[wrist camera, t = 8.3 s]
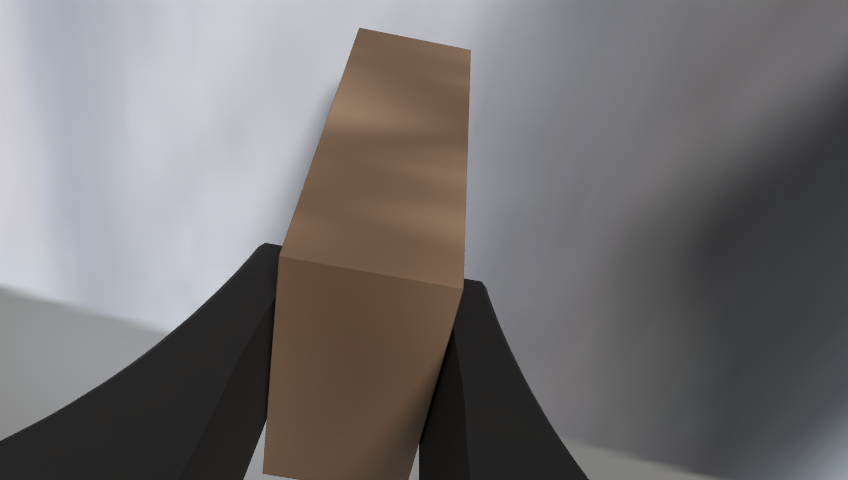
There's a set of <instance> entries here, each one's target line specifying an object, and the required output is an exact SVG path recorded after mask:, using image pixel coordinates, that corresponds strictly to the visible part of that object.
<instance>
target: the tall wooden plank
mask: <svg viewBox="0 0 848 480" xmlns="http://www.w3.org/2000/svg"><path fill="white" fill-rule="evenodd" d="M470 58H471V50H468V49H463V48H458V47H453V46H448V45H443V44H438V43H433V42H428V41H423V40H418V39H413V38H408V37H403V36H398V35H393V34H388V33H383V32H378V31H373V30H368V29H363V28H359V30H358V33H357V36H356V39H355V42H354V44H353V47H352V50H351V53H350V56H349V59H348V61H347V64H346V67H345V70H344V73H343V76H342V79H341V81H340V84H339V87H338V90H337V93H336V96H335V98H334V101H333V104H332V107H331V110H330V113H329V116H328V118H327V121H326V124H325V127H324V130H323V133H322V136H321V138H320V141H319V144H318V147H317V150H316V153H315V155H314V158H313V161H312V164H311V167H310V170H309V173H308V175H307V178H306V181H305V184H304V187H303V190H302V192H301V195H300V198H299V201H298V204H297V207H296V210H295V212H294V215H293V218H292V221H291V224H290V227H289V229H288V232H287V235H286V238H285V241H284V244H283V247H282V249H281V252H280V255H279V265H278V278H277V291H276V304H275V318H274V331H273V344H272V357H271V370H270V384H269V397H268V410H267V424H266V436H265V449H264V463H263V474H268V475H274V476H281V477H287V478H293V479H299V480H408V479H409V476H410V472H411V469H412V465H413V462H414V458H415V455H416V451H417V448H418V444H419V441H420V438H421V434H422V431H423V427H424V424H425V420H426V417H427V413H428V410H429V406H430V403H431V399H432V396H433V393H434V389H435V386H436V382H437V379H438V375H439V372H440V368H441V365H442V361H443V358H444V354H445V351H446V347H447V344H448V341H449V337H450V334H451V330H452V327H453V323H454V320H455V316H456V313H457V309H458V306H459V302H460V299H461V295H462V292H463V284H464V252H465V219H466V187H467V155H468V122H469V90H470Z"/></svg>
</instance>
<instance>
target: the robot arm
mask: <svg viewBox="0 0 848 480" xmlns="http://www.w3.org/2000/svg"><path fill="white" fill-rule="evenodd" d="M282 247H283V246H280V245H274V244H269V243H264V244H263V245H261V246H259V247H258V248H257V249H256V250H255V252H254V253H253V254H252V255H251V256H250V257H249V259H248V260H247V261H246V262H245V263H244V264H243V265H242V266H241V267H240V269H239V270H238V271H237V272H236V273H235V274H234V275H233V276H232V277H231V278H230V279H229V280H228V281H227V282H226V283H225V284H224V285H223V286H222V287H221V288H220V289H219V290H218V291H217V292H216V293H215V294H214V295H213V296H212V297H211V298H210V299H208V300H207V301H206V302H205V303H204V304H203V305H202V306H201V307H200V308H199V309H198V310H197V311H196V312H195V313H194V314H192V315H191V316H190V317H189V318H188V319H187V320H186V321H184V322H183V323H182V324H181V325H180V326H178V327H177V328H176V329H175V330H173V331H172V332H171V333H170V334H169V335H168V336H166V337H165V338H164V339H163V340H161V341H160V342H159V343H158V344H157V345H156V346H154V347H153V348H152V349H150V350H149V351H148V352H146V353H145V354H144V355H142V356H141V357H140V358H138V359H137V360H136V361H134V362H133V363H131V364H130V365H129V366H127V367H126V368H124V369H123V370H122V371H120V372H119V373H117V374H116V375H114V376H113V377H111V378H110V379H108V380H107V381H106V382H104V383H102V384H101V385H99V386H98V387H96V388H94V389H93V390H91V391H89V392H88V393H86V394H85V395H83V396H81V397H80V398H78V399H77V400H75V401H74V402H72V403H70V404H69V405H67V406H65V407H64V408H62V409H60V410H58V411H57V412H55V413H53V414H51V415H50V416H48V417H46V418H44V419H42V420H40V421H38V422H36V423H34V424H32V425H31V426H29V427H27V428H25V429H23V430H21V431H19V432H17V433H15V434H13V435H11V436H9V437H7V438H5V439H3V440H2V441H0V480H243V479H244V476H245V474H246V471H247V468H248V466H249V464H250V461H251V458H252V456H253V453H254V450H255V448H256V445H257V443H258V440H259V438H260V435H261V433H262V430H263V427H264V424H265V422H266V420H267V410H268V397H269V384H270V370H271V357H272V344H273V331H274V318H275V304H276V291H277V278H278V265H279V255H280V252H281V249H282ZM419 480H589V479H588V478H587V476H586V475H585V474H584V472H583V471H582V470H581V468H580V467H579V466H578V465H577V463H576V462H575V460H574V459H573V457H572V456H571V455H570V453H569V451H568V450H567V449H566V447H565V446H564V444H563V443H562V441H561V440H560V438H559V437H558V435H557V433H556V432H555V430H554V429H553V427H552V426H551V424H550V422H549V421H548V419H547V417H546V416H545V414H544V412H543V411H542V409H541V407H540V405H539V404H538V402H537V400H536V398H535V397H534V395H533V393H532V391H531V389H530V387H529V386H528V384H527V382H526V380H525V378H524V376H523V374H522V372H521V370H520V368H519V366H518V364H517V362H516V360H515V358H514V356H513V354H512V352H511V350H510V347H509V345H508V343H507V341H506V339H505V336H504V334H503V332H502V329H501V327H500V324H499V322H498V320H497V317H496V315H495V312H494V309H493V307H492V304H491V301H490V298H489V296H488V293H487V289H486V287H485V286H484V284H483V283H482V282H480V281H475V280H469V279H464V284H463V292H462V295H461V299H460V302H459V306H458V309H457V313H456V316H455V320H454V323H453V327H452V330H451V334H450V337H449V341H448V344H447V347H446V351H445V354H444V358H443V361H442V365H441V368H440V372H439V375H438V379H437V382H436V386H435V389H434V393H433V396H432V399H431V403H430V406H429V410H428V413H427V417H426V420H425V424H424V427H423V431H422V434H421V438H420V441H419Z"/></svg>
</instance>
